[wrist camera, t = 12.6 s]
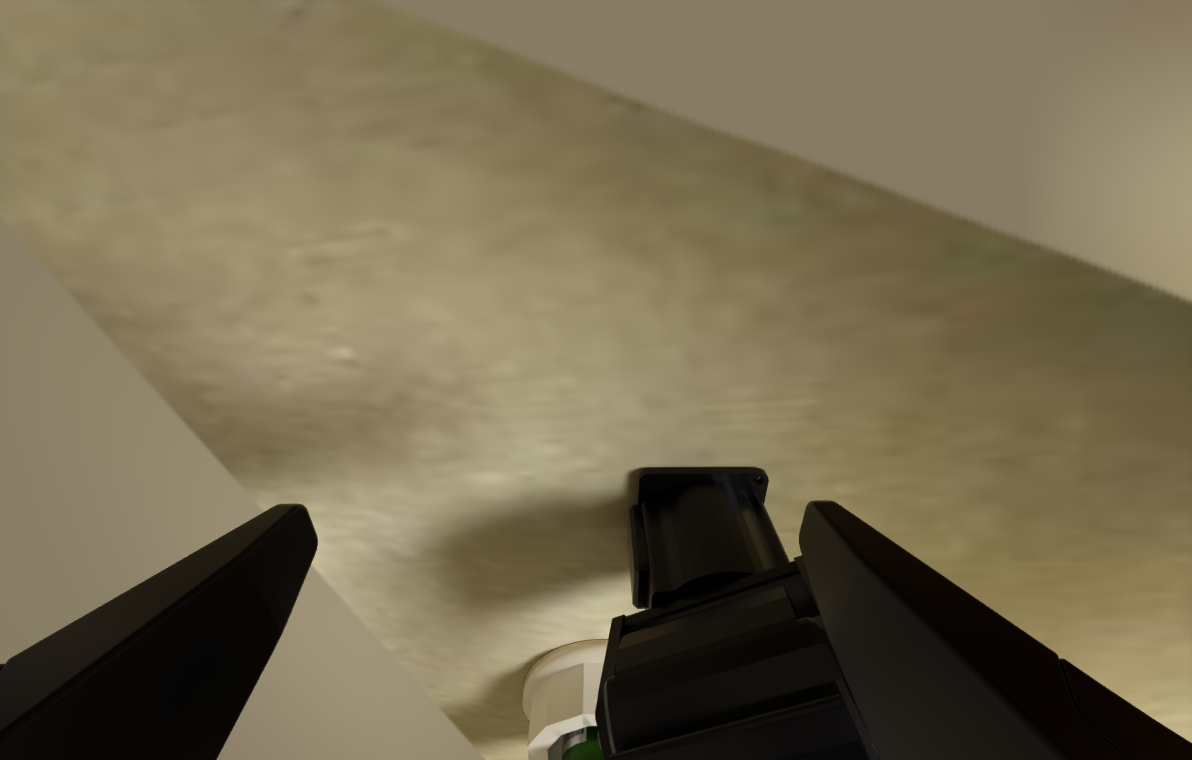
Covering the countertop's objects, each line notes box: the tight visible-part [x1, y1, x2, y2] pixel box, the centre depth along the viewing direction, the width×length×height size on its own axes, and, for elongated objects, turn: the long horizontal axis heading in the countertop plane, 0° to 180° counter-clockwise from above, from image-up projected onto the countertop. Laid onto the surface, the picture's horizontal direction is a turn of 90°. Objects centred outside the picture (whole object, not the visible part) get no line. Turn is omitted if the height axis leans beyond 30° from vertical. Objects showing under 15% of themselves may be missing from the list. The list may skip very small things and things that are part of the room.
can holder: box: [522, 640, 608, 760], centre depth 31 cm, size 11×11×4 cm
